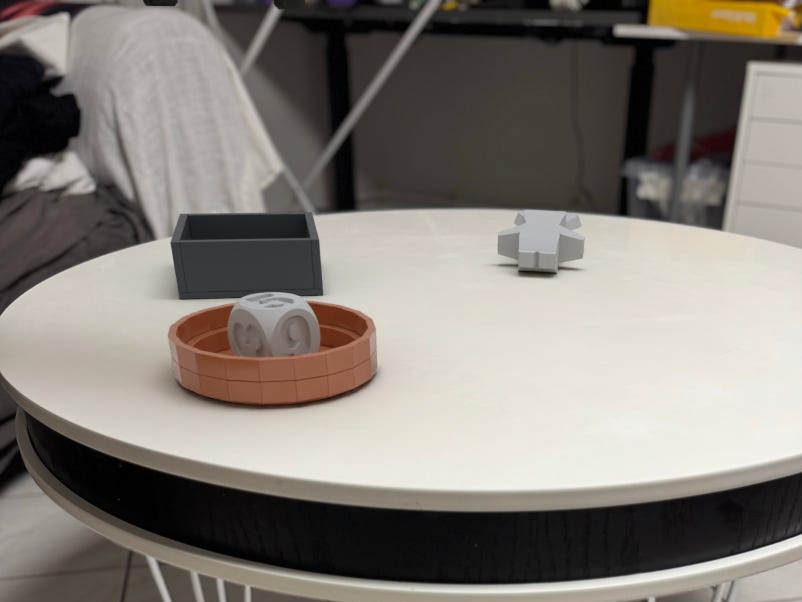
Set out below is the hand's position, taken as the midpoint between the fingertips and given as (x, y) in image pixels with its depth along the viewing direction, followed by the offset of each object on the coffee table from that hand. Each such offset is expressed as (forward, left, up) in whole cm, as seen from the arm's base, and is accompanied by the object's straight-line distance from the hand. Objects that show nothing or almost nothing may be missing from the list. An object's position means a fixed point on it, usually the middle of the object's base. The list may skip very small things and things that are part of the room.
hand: (224, 7), depth 60 cm
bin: (-1, +24, -23) cm, 34 cm away
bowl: (+1, -5, -23) cm, 24 cm away
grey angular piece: (+31, +29, -23) cm, 49 cm away
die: (+1, -5, -23) cm, 23 cm away
